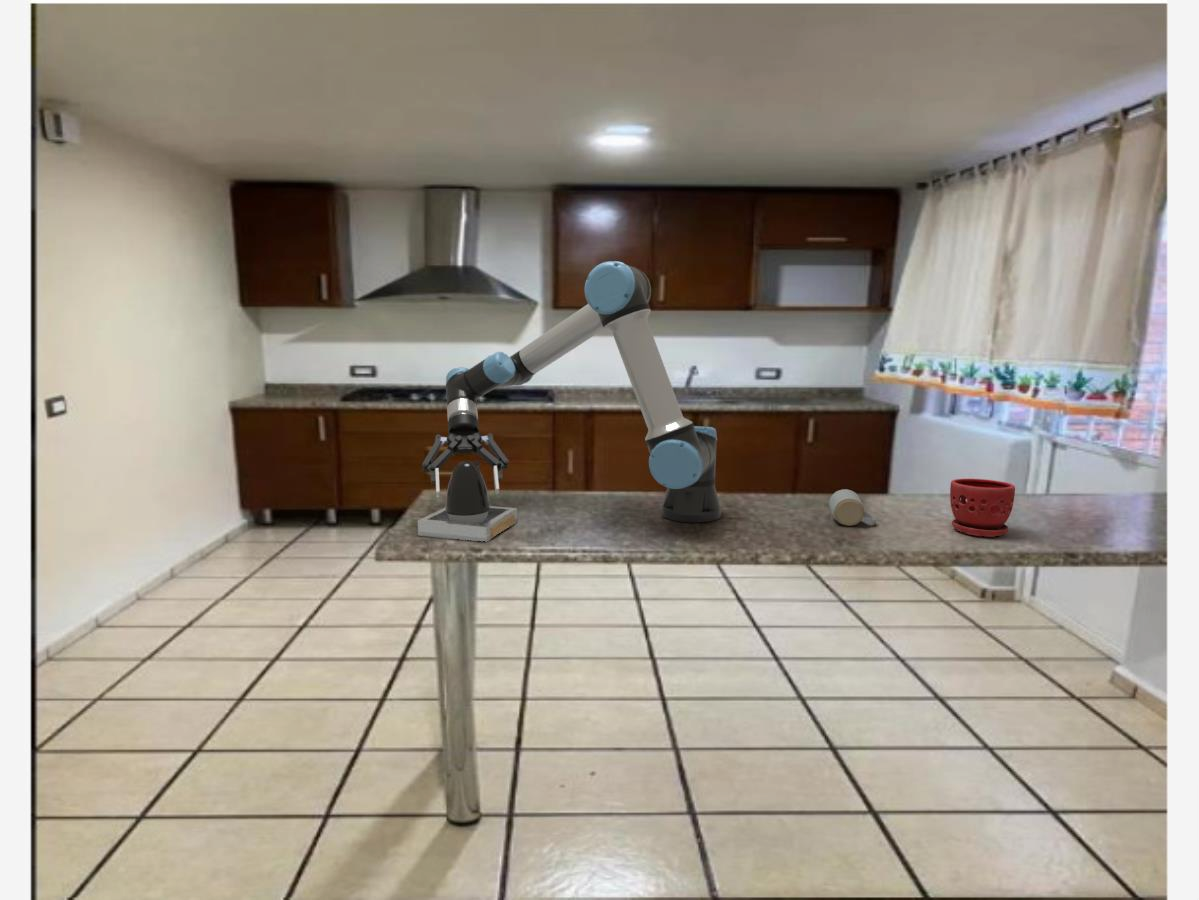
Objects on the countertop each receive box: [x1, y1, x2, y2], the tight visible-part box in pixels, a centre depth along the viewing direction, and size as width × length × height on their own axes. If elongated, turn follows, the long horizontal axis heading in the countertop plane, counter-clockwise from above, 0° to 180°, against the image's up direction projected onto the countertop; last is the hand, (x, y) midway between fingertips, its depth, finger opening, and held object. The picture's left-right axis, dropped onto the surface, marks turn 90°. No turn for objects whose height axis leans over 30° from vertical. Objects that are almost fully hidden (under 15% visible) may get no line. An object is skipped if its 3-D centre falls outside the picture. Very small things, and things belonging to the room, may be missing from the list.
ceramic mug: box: [828, 488, 877, 527], centre depth 163 cm, size 11×8×8 cm
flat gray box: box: [417, 505, 518, 543], centre depth 156 cm, size 18×17×4 cm
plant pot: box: [949, 478, 1016, 538], centre depth 156 cm, size 13×13×12 cm
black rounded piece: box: [444, 460, 491, 524], centre depth 155 cm, size 10×10×15 cm
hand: (467, 493), depth 155 cm, fingers open, 13 cm apart
